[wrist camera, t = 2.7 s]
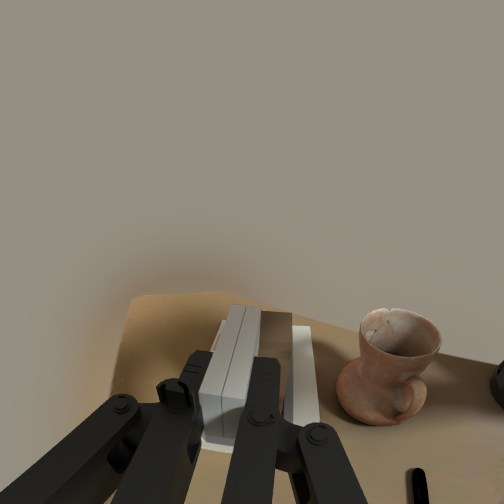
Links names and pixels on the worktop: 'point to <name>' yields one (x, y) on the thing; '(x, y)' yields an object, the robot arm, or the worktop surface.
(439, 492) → the worktop surface
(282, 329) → the slider
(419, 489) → the pen
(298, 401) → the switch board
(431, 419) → the worktop surface
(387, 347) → the ceramic jug
